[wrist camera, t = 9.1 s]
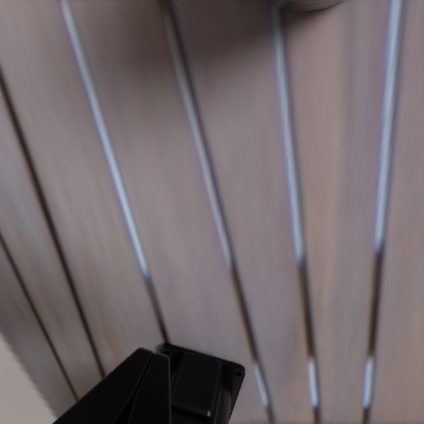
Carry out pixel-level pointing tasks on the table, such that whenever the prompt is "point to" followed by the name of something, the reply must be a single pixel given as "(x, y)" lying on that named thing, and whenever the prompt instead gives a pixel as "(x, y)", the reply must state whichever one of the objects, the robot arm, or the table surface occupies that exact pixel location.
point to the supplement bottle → (304, 4)
